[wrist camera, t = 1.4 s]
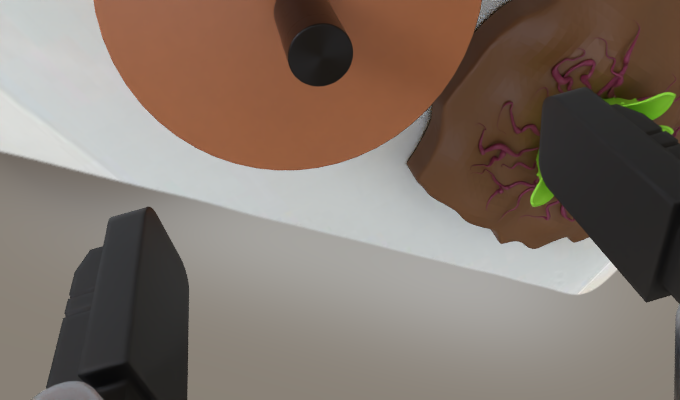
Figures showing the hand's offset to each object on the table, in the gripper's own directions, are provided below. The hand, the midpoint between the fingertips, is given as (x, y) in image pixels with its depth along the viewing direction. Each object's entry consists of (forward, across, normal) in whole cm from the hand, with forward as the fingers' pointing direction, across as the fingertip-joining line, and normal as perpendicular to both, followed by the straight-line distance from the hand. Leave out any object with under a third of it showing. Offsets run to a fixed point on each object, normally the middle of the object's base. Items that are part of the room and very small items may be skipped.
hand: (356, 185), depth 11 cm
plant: (+20, -17, +15) cm, 30 cm away
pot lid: (+15, -1, +1) cm, 15 cm away
